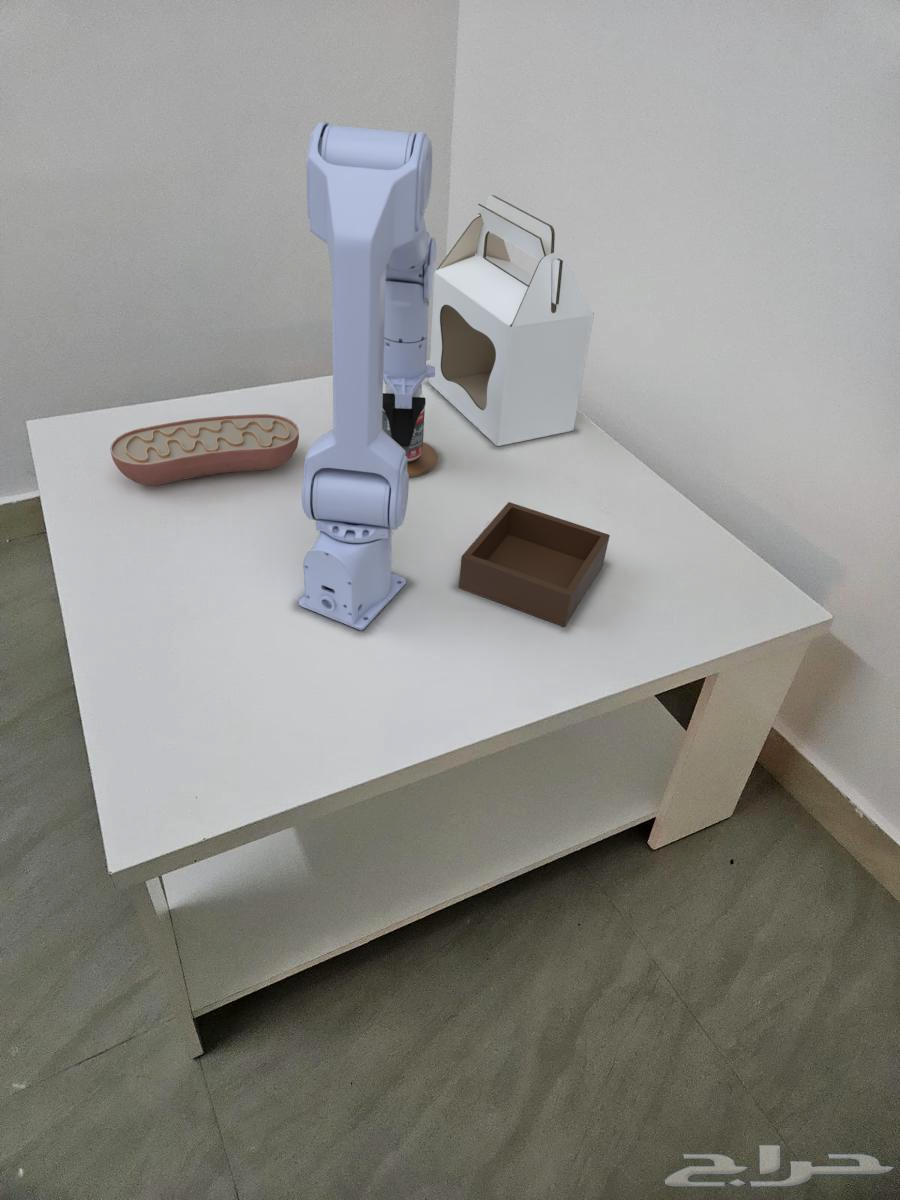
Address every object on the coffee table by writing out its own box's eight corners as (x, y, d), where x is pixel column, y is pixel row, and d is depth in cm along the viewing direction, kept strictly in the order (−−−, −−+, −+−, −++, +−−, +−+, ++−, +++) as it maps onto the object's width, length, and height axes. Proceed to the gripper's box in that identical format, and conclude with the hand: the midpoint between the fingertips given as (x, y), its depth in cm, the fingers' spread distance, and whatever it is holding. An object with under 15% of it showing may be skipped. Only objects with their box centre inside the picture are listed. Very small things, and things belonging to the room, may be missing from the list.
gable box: (427, 382, 129) (436, 190, 111) (499, 370, 134) (519, 185, 117) (497, 448, 115) (521, 239, 97) (575, 432, 120) (611, 230, 102)
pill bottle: (416, 466, 108) (420, 396, 101) (375, 459, 108) (375, 390, 102) (426, 445, 112) (430, 377, 106) (386, 439, 113) (387, 371, 106)
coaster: (415, 486, 106) (415, 482, 105) (349, 464, 109) (349, 460, 109) (450, 453, 113) (450, 450, 112) (387, 433, 116) (387, 430, 116)
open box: (564, 627, 86) (571, 595, 83) (458, 587, 90) (461, 556, 87) (603, 565, 95) (610, 534, 92) (504, 532, 99) (508, 501, 96)
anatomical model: (121, 504, 98) (113, 468, 95) (114, 463, 105) (106, 428, 102) (308, 477, 106) (306, 443, 102) (290, 440, 113) (288, 407, 109)
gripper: (439, 360, 94) (433, 462, 103) (434, 313, 106) (429, 409, 114) (378, 357, 94) (377, 460, 103) (379, 310, 105) (379, 407, 114)
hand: (401, 433), depth 108 cm, fingers closed on pill bottle, 5 cm apart
